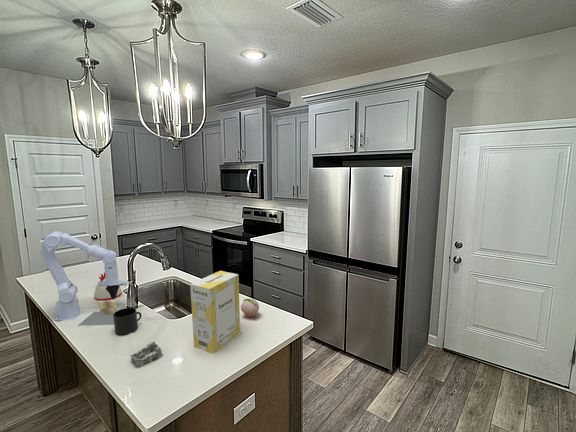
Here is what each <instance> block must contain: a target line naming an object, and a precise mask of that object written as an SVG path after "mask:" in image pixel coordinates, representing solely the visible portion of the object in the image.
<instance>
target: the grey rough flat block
mask: <svg viewBox="0 0 576 432" xmlns="http://www.w3.org/2000/svg"><path fill="white" fill-rule="evenodd" d="M162 351H163V349H162V348H161V347H160V346H158V344H157V343H156V342H155V341H152V342H150V343H148V344H147V345H146V346H145V347H143V348H141V349H140V350H137V351H135V352H134V353H133V354H130V355H129V358H131V364H134V366H135V367H136V368H138V367H143V366H144V364H145V363H151V362H152V361H153V359H159V358H161V356H162ZM151 352H154V353H151ZM150 353H151V354H150Z"/></svg>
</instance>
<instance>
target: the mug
mask: <svg viewBox="0 0 576 432" xmlns="http://www.w3.org/2000/svg"><path fill="white" fill-rule="evenodd" d="M138 315H139V317H138ZM113 318H114V325H113V326H114V333H115V335H117V336H128V335H130V334H132V333H136V331H137V330H138V329H139V328H138V326H139V325H138V322H139V321H140V320H141V319H142V313H141V312H140V311H137V309H136V308H135V307H124V308H121V309H117V311H116V312H115V313H114V314H113Z"/></svg>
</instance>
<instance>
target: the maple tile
mask: <svg viewBox="0 0 576 432" xmlns="http://www.w3.org/2000/svg"><path fill="white" fill-rule="evenodd" d="M98 307H99V308H98V309H99V312H100V315H109V314H114V313H115V312H116V311H118V305H117V300H115V299H114V300H106V301H98Z"/></svg>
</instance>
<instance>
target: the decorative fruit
mask: <svg viewBox="0 0 576 432" xmlns="http://www.w3.org/2000/svg"><path fill="white" fill-rule="evenodd" d="M259 309H260V304H259V302H258V300H256V299H253V298H244V299H242V302H241V305H240V310H241V312H242V313H243V315H245V316H247V317H251V318H252V317H254V316H255V315H257V314H258V312H259Z"/></svg>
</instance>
